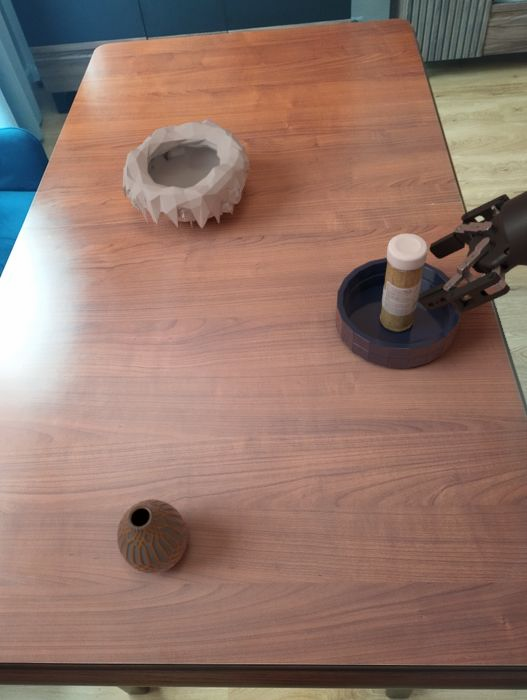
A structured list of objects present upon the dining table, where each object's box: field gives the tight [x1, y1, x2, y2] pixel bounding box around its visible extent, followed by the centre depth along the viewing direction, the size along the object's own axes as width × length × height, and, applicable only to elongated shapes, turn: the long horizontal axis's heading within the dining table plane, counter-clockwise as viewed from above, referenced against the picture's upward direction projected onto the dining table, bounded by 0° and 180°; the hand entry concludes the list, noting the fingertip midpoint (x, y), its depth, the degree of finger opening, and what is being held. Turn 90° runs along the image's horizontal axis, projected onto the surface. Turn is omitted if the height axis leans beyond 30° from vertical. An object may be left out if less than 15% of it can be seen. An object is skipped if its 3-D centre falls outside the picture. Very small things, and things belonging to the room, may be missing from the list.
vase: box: [116, 498, 189, 574], centre depth 59 cm, size 7×7×9 cm
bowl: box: [122, 118, 251, 229], centre depth 93 cm, size 21×20×10 cm
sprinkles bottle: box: [380, 233, 429, 332], centre depth 72 cm, size 5×5×14 cm
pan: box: [335, 257, 462, 369], centre depth 76 cm, size 16×16×4 cm
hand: (428, 276), depth 70 cm, fingers open, 8 cm apart
